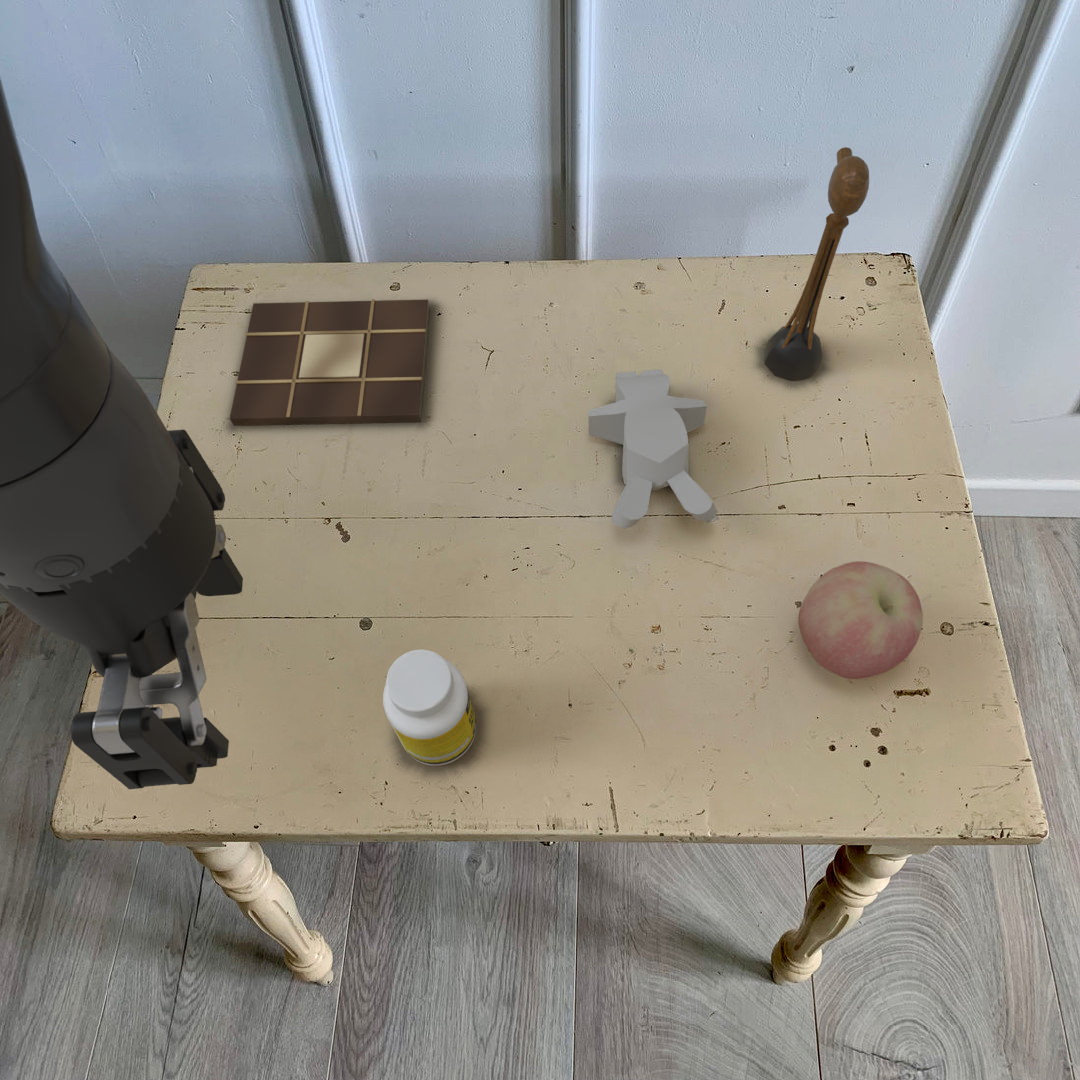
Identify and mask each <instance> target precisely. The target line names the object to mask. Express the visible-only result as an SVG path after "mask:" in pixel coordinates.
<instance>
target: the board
mask: <svg viewBox="0 0 1080 1080" xmlns="http://www.w3.org/2000/svg"><path fill="white" fill-rule="evenodd" d="M251 308H252V309H251V313H250V317H249V323H248V327H247V332H246V333H245V342H244V347H243V352H242V356H241V360H240V361H241V362H240V366H239V372H238V376H237V380H236V381H235V384H236V386H235V391H234V396H233V400H232V405H231V410H230V414H229V420H230V422H231V424H232V425H233V426H269V425H270V426H272V425H273V426H274V425H277V426H278V425H321V424H323V425H325V424H327V425H329V424H374V423H377V424H378V423H380V424H381V423H382V424H383V423H420V422H421V420H422V408H423V396H424V395H423V393H424V383H425V372H426V371H425V369H426V358H427V357H426V355H427V346H428V333H429V331H428V330H429V318H430V309H431V308H430V301H429V299H428V298H427V299H426V298H425V299H387V300H386V299H385V300H383V299H381V300H375V299H374V298H373V299H371V300H347V301H345V300H343V301H341V300H340V301H338V300H337V301H310V300H305V301H299V302H298V301H295V302H294V301H293V302H254V303H253V304H252V307H251Z"/></svg>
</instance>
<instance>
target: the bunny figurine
mask: <svg viewBox="0 0 1080 1080" xmlns="http://www.w3.org/2000/svg"><path fill="white" fill-rule="evenodd" d="M614 383H615V384H614V385H615V386H614V388H615V402H612V403H608V404H605V405H601V406H598V407H594V408H591V409H588V412H587V413H588V418H587V419H588V421H587V422H588V423H587V424H588V426H587V427H588V428H587V429H588V431H587V432H588V436H591V437H595V438H598V439H602V440H605V441H609V442H612V443H616V444H619V445H622V448H623V449H622V462H621V472H622V480H623V483H624V485H625V486H624V488H623V490H622V492H621V494H620V496H619V498H618V500H617V502H616V504H615V506H614V508H613V510H612V512H611V522H612V523H613V524H614V525H615V527H618V528H622V529H628V528H632V527H634V526H635V525H637V524H638V523H639V522H640V521H641V520H642V519H643V517H645V515H646V514H648V509H649V504H650V498H651V493H652V490H653V491H659V490H663V489H664V488H666V487H669V486H670V488H671V490H672V491H673V493H674V495H675V496H676V498H677V499H678V501H679V502H680V504H681V506H682V508H683V509H684V510H685V511H686V512H687V513H688V514H690V515H691V516H692V517H693V518H694V519H695V520H697V521H702V522H709V521H712V520H713V519H715V518H716V516H717V513H718V510H717V508H716V504H715V503H714V502H713V500H712V499H711V497H710V496H709V494H708V493H707V492H706V491H705V490H704V489H703V488H702V487H701V486H700V485H699V484H698V483H697V481H695V480H694V479H693V477H691V476H690V470H689V469H690V465H689V464H690V463H689V461H690V459H689V457H690V456H689V437H688V433H690V432H692V431H694V430H696V429H699V428H701V427H702V426H704V425H705V421H706V415H707V414H706V413H707V408H708V407H707V404H706V402H705V400H704V399H696V398H689V397H679V396H675V395H674V396H673V395H670V387H671V377H670V376H669V375H668V374H665V373H664V372H663V369H662V368H659V369H649V370H648V369H647V370H642V371H641V373H640V375H639V374H638V372H637V371H624V372H622V371H621V372H615V382H614Z"/></svg>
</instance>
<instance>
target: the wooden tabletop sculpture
mask: <svg viewBox="0 0 1080 1080" xmlns="http://www.w3.org/2000/svg"><path fill="white" fill-rule="evenodd" d="M830 175H831V176H830V178H829V182H828V188H827V201H828V205H829V207H830V209H831V211H832V213H829V214H828V215H827V216H826V217H825V226H824V229H823V232H822V235H821V239H820V241H819V245H818V248H817V251H816V253H815V257H814V260H813V262H812V266H811V269H810V272H809V274H808V277H807V280H806V282H805V285H804V287H803V290H802V292H801V295H800V298H799V299H798V302H797V303H796V307H795V308H794V310H793V313H792V314H791V316H790V318H789V319H788V320H787V322H786V324H785V325H784V326H782V327H780V328H779V329H778V330H777V331H776V332H775V333H774V334H773V335H772V336H771V337H770V338H769V339H768V340H767V343H766V344H765V346H764V350H763V353H764V354H763V355H764V358H763V359H764V361H763V362H764V363H763V364H764V365H765V366H766V368H767V369H768V370H769V371H770V372H771V373H772V374H773V375H774V376H775V377H778V378H781V379H785V380H788V381H791V382H795V381H800V380H805V379H810V378H811V377H812V375H814V373H815V372H816V371H817V370H818V369H819V368H820V365H821V363H822V355H823V353H822V341H821V338H820V337H819V336H818V335H817V333H816V332H815V331H814V330H815V326H816V322H817V321H816V320H817V316H818V311H819V308H820V303H821V299H822V297H823V292H824V289H825V286H826V282H827V280H828V276H829V274H830V271H831V270H830V269H831V267H832V264H833V261H834V259H835V256H836V253H837V250H838V247H839V244H840V240H841V238H842V235H843V232H844V229H846V228H847V227H848V226H849V224H850V223H849V222H850V221H849V216H852V215H854V214H856V213H857V212H858V211H859V210H860V209H861V207H862V206H863V204H864V202H865V201H866V199H867V196H868V191H869V188H870V170H869V165H868V164H867V163H866V162H865V160H864V159H863V158H861V157H859V156H856V155H853V150H852V149H851V148H850V147H844V146H843V147H841V148H840V149H838V150H837V152H836V165H835V166H834V167H833V171H832V172H831V174H830Z"/></svg>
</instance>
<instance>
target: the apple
mask: <svg viewBox="0 0 1080 1080" xmlns="http://www.w3.org/2000/svg"><path fill="white" fill-rule="evenodd" d="M923 615H924V614H923V609H922V604H921V600H920V596H919V595H918V593H917V591H916V589H915V588H914V586H913V585H912V584H911V582H910V581H909V580H908V579H907V578H906V577H905V576H904V575H902V574H900V573H898V572H897V571H895V570H893V569H891V568H889V567H887V566H885V565H881V564H879V563H878V564H877V563H874V562H870V561H861V560H860V561H850V562H847V563H844V564H841V565H839V566H836V567H833V568H831V569H829V570H828V571H826V572H824V574H823V575H821V576H820V577H819V578H818V579H817V580H815V582H813V584H812V585H811V587H810V588H809V589H808V591H807V593H806V595H805V597H804V598H803V600H802V603H801V605H800V608H799V612H798V619H797V624H798V628H799V632H800V635H801V639H802V641H803V643H804V645H805V647H806V649H807V650H808V652H809V653H810V655H811V656H812V657H813V659H814V661H815V662H816V663H817V664H818V665H819V666H820V667H821V668H823V669H825V670H826V671H828V672H830V673H831V674H833V675H836V676H838V677H840V678H843V679H844V678H845V679H850V680H862V679H867V678H872V677H875V676H878V675H882V674H884V673H887V672H888V671H891V670H892V669H894V668H896V667H897V666H899V665H900V664H901V663H902V662H904V661H905V660H906V659H907V658H908V657H909V655H910V654H911V653H912V651H913V649H914V648H915V647H916V645H917V643H918V641H919V638H920V636H921V633H922V628H923V624H924V623H923V622H924V616H923Z"/></svg>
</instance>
